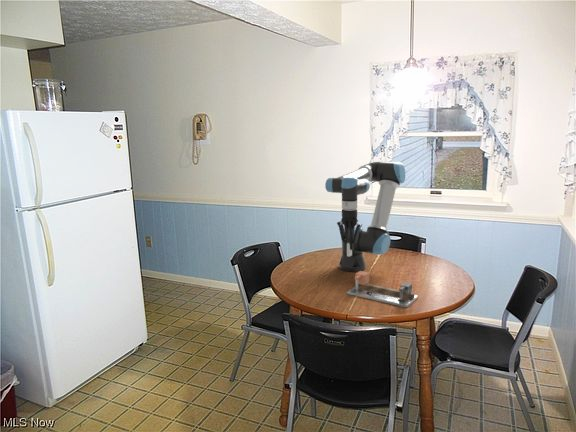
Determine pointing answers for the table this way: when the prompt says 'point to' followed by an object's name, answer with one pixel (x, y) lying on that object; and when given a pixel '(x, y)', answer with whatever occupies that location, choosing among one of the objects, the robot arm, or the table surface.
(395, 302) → the bolt plate
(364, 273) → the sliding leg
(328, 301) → the table surface
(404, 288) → the rail and fixed leg
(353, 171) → the robot arm
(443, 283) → the table surface
